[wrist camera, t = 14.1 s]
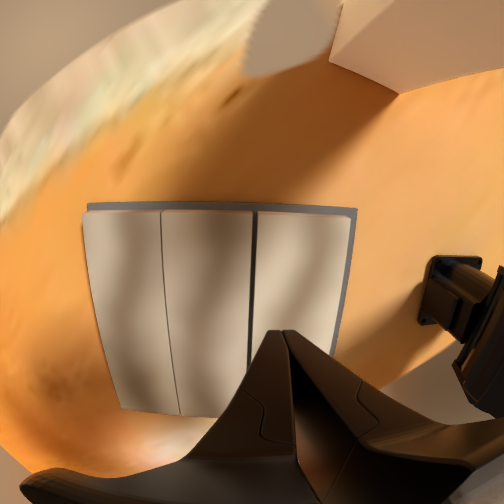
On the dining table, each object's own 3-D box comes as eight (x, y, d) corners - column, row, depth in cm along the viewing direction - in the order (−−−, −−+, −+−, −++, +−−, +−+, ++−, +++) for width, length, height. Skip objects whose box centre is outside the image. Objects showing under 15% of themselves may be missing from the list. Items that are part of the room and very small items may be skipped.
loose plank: (345, 215, 20) (350, 218, 19) (311, 407, 25) (313, 416, 24) (257, 210, 20) (258, 214, 18) (248, 409, 25) (248, 418, 24)
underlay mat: (355, 208, 20) (357, 208, 20) (320, 403, 26) (321, 405, 25) (89, 203, 19) (87, 203, 19) (124, 397, 24) (123, 399, 24)
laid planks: (251, 210, 20) (252, 214, 18) (244, 408, 25) (244, 418, 24) (89, 210, 19) (81, 213, 18) (124, 400, 24) (121, 408, 23)
